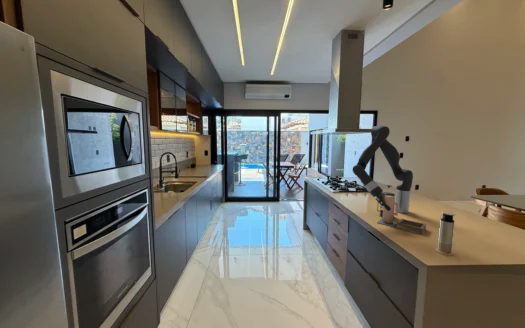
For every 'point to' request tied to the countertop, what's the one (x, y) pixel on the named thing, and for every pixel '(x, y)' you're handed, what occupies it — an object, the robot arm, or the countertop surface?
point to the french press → (386, 194)
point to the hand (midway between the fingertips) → (391, 208)
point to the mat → (387, 223)
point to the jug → (389, 214)
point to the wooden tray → (411, 226)
